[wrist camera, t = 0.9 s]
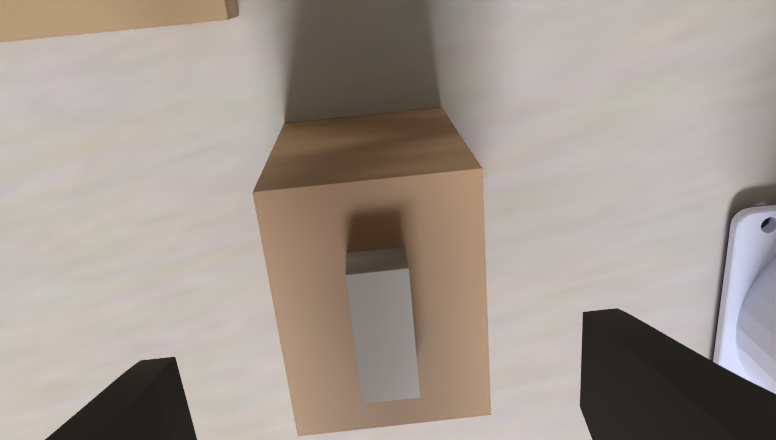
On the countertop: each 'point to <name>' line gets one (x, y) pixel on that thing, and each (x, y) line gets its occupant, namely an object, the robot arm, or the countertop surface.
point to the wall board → (103, 16)
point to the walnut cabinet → (377, 270)
